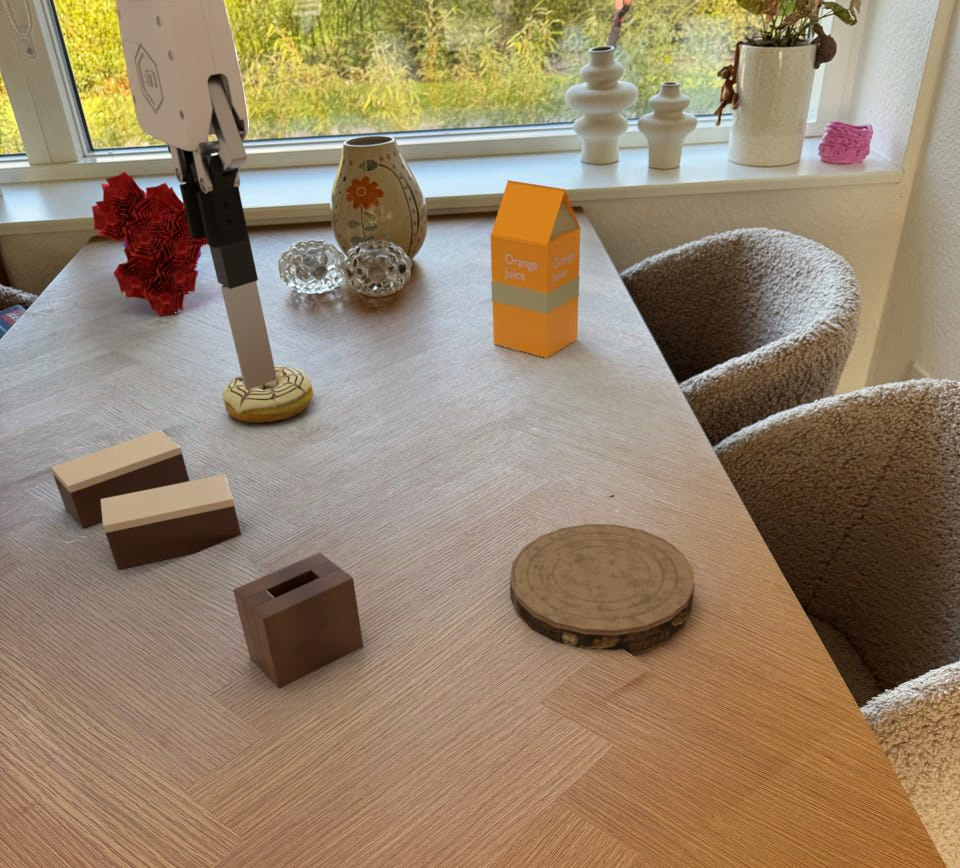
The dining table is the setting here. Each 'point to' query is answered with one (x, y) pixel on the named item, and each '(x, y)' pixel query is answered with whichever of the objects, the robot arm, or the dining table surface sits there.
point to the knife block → (299, 618)
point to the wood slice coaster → (603, 588)
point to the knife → (243, 307)
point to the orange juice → (535, 269)
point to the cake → (118, 474)
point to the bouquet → (150, 242)
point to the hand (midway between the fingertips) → (219, 237)
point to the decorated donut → (269, 397)
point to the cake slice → (169, 521)
